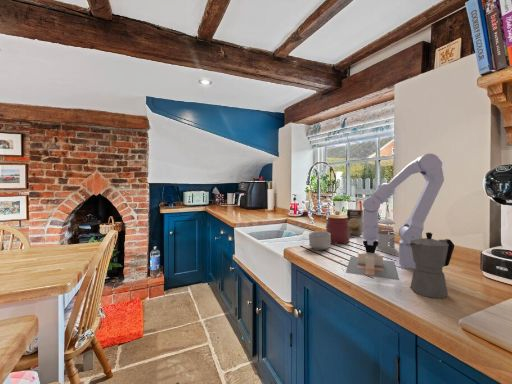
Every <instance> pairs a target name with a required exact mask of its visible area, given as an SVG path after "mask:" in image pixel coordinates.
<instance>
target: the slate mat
mask: <svg viewBox="0 0 512 384" xmlns="http://www.w3.org/2000/svg"><path fill="white" fill-rule="evenodd" d="M345 273H346V274H354V275H360V276H367V277H374V278H381V279H388V280H395V281H400V277H399V274H398V270H397V266H396V262H395V261H394V260H385V259H383V266H378V265H374V270H373V269H366V264H361V263H358V256H350V258H349V261H348V264H347V268H346V270H345Z"/></svg>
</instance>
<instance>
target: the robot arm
mask: <svg viewBox="0 0 512 384" xmlns="http://www.w3.org/2000/svg"><path fill="white" fill-rule="evenodd" d="M419 173H420V174H421V175H422V176H423V179H424V180H425V183H424V186H423V187H422V190H421V192H420V194H419V196H418V198H417V200H416V203H415V205H414V206H413V209H412V212H411V213H410V215H409V217H408V219H407V220H406V221H405V223H404V224H403V225H402V226H401V227H400V228H399V229H398V236H399V237H400V240H399V241H398V260H396V261H397V265H398V267H399V268H405V269H413V270H414V269H415V268H416V263H415V262H414V260H413V254H412V247H411V246H409V244H410V243H411V240H415V239H423V232H424V224H425V222H426V219H427V217H428V215H429V213H430V211H431V209H432V206H433V205H434V203H435V201H436V198H437V196H438V195H439V193H440V190H441V188H442V186H443V183H444V182H445V176H444V170H443V162H442V161H441V158H440V157H439V156H438V155H436V154H434V153H426V154H423V155H421V156H418V157H417V158H416V159H414V160H413V161H411V162H409V163H408V164H407V165H406V166H404V168H403V169H401V171H400V172H398V173H397V174H396V175H395V176H394V177H393V178H392V179H391V180H390V181H389V182H387V183H386V182H384V183H382V184H378V185H377V188H376V189H375V190H374V191H372V193H369V194H368V197H366V198H365V199H364V200H363V201H362V207H363V234H362V235H361V236H359V238H360V239H363V241H362V244H363V246H364V248H365V252H367V253H376V250H377V249H376V247H377V245H378V239H379V237H378V232H379V231H378V229H379V223H378V221H379V213H378V212H379V211H378V210H379V209H380V206H381V205H382V204H384V203H386V202H385V201H386V200H389V199H390V198H391V197H392V196H393V195H394V194H395V190H396V188H397V187H398V186H400V185H401V184H402V183H403V182H404V181H406V179H408V178H409V177H410V176H412V175H414V174H419Z"/></svg>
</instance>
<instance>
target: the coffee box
mask: <svg viewBox="0 0 512 384" xmlns="http://www.w3.org/2000/svg"><path fill="white" fill-rule="evenodd" d="M363 211H364V209H353V208H352V209H351V208H349V209H347V210H346V216H347V217H348V218H347V219H348V220H349V221H350V222H349V227H350V228H349V234H354V235H353V236H358V235H361V236H363V215H364V213H363Z"/></svg>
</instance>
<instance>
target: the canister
mask: <svg viewBox="0 0 512 384" xmlns="http://www.w3.org/2000/svg"><path fill="white" fill-rule="evenodd" d="M326 217H327V219H326V220H325V222H326V225H325V232H328V233H330V234H331V235H330V237H331V243H332V244H347V243H350V239H351V238H350V235H349V228H350V227H349V222H350V221H349V220H348V219H347V218H348V217H347V214H344V213H341V211H340V210H336V211H335V213H330V214H329V215H327V216H326Z"/></svg>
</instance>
